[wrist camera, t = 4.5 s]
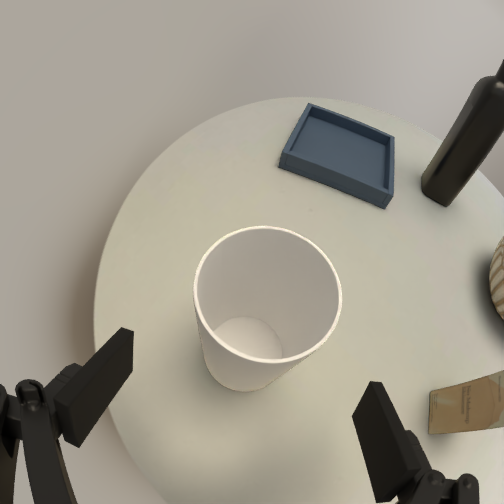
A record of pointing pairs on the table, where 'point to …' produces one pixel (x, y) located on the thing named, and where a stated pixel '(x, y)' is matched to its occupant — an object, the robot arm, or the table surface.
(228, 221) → the table surface
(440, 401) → the box
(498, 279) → the vase
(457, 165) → the wine bottle
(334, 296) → the cup
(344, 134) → the cup tray
